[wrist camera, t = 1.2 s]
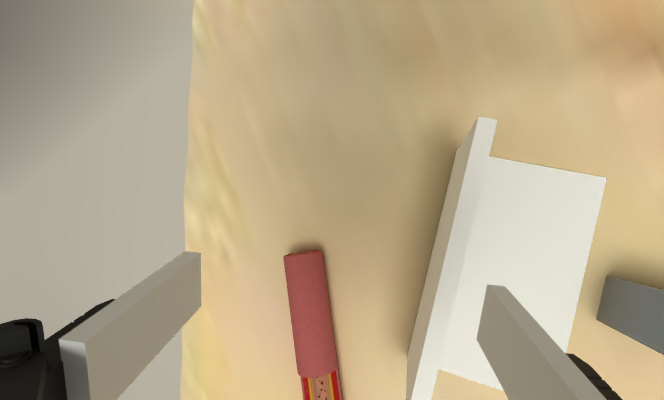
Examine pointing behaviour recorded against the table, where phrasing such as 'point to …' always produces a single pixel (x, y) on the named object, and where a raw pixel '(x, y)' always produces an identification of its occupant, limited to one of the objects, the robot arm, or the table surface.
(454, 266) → the rail panel
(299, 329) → the blood vessel
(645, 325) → the block
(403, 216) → the table surface
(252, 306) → the table surface
